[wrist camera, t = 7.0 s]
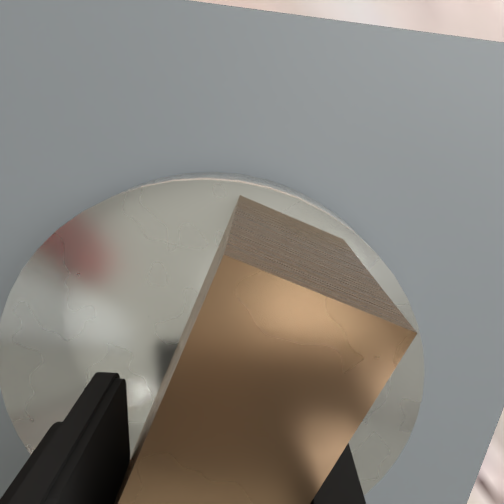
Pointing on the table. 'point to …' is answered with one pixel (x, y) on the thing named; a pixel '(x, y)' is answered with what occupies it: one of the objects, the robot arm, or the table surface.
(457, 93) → the dial plate
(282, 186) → the tuning dial
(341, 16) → the table surface
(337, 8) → the table surface
